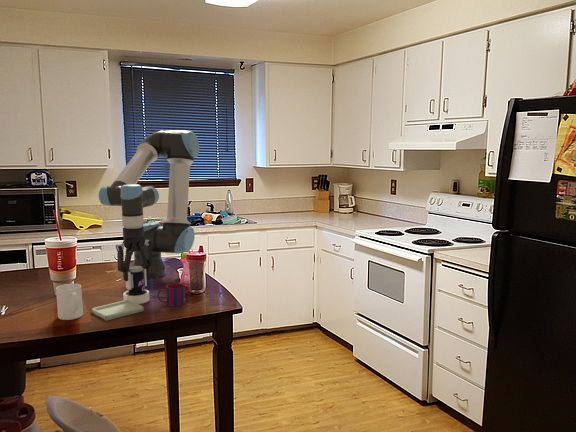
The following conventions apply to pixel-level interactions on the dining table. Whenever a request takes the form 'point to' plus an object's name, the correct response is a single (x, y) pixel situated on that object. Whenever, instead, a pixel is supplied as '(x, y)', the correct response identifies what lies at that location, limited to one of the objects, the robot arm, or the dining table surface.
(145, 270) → the robot arm
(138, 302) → the white round dish
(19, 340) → the dining table surface
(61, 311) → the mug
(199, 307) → the dining table surface
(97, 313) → the tray
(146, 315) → the dining table surface
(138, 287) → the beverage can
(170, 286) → the cup
